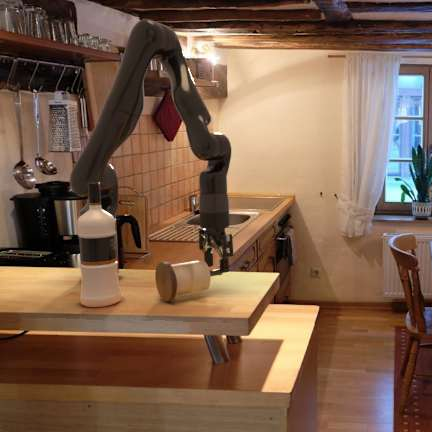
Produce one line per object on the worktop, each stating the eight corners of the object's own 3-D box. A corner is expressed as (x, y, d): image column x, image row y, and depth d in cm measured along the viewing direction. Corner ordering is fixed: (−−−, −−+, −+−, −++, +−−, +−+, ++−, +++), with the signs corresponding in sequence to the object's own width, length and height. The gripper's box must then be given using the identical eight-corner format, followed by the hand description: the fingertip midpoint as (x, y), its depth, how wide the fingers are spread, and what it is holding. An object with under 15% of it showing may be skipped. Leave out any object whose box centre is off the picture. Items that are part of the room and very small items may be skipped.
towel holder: (156, 296, 145) (154, 258, 143) (214, 285, 156) (213, 250, 155) (172, 305, 138) (171, 266, 136) (232, 293, 149) (231, 256, 148)
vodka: (76, 301, 140) (68, 181, 136) (116, 294, 146) (109, 179, 141) (85, 310, 133) (76, 184, 128) (126, 303, 139) (119, 182, 134)
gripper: (240, 211, 145) (242, 272, 148) (214, 205, 156) (216, 262, 158) (214, 214, 140) (216, 277, 143) (188, 208, 150) (191, 266, 153)
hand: (216, 269), depth 150 cm, fingers open, 8 cm apart
